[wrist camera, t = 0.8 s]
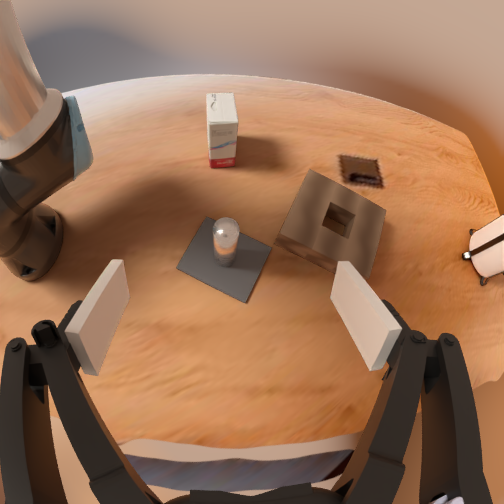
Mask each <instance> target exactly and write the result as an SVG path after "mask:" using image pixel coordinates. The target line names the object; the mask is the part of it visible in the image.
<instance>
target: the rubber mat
mask: <svg viewBox="0 0 504 504" xmlns="http://www.w3.org/2000/svg"><path fill="white" fill-rule="evenodd" d="M215 222H216V221H215V220H213V219H211V218H209V217H206V218H205V220H204V221H203V223H202V225H201V226H200V228H199V230H198V231H197V233H196V235H195V236H194V238H193V240H192V241H191V243H190V245H189V247H188V248H187V250H186V252H185V253H184V255H183V257H182V259H181V260H180V262H179V264H178V266H177V267H176V268H177V269H179V270H181V271H182V272H184V273H186V274H188V275H190V276H192V277H194V278H196V279H198V280H200V281H202V282H203V283H205V284H207V285H209V286H211V287H213V288H215V289H217V290H219V291H221V292H223V293H225V294H227V295H229V296H231V297H233V298H235V299H237V300H239V301H241V302H243V303H245V302H246V300H247V298H248V296H249V294H250V292H251V290H252V288H253V286H254V284H255V282H256V280H257V278H258V276H259V274H260V272H261V269H262V267H263V265H264V263H265V261H266V259H267V257H268V255H269V253H270V251H271V249H272V248H271V247H269V246H267V245H265V244H263V243H261V242H259V241H257V240H255V239H253V238H251V237H249V236H247V235H245V234H242V233H240V232H239V237H238V243H237V249H236V255H235V260H234V263H233V264H232V265H231V266H229V267H220V266H219V265H217V263H216V262H215V258H214V241H213V226H214V224H215Z"/></svg>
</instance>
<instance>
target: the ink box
mask: <svg viewBox="0 0 504 504" xmlns="http://www.w3.org/2000/svg"><path fill="white" fill-rule="evenodd" d="M206 96H207V137H208V149H209V162H210V168H219V167H229V166H234V165H235V156H236V143H237V132H238V116H237V110H236V104H235V98H234V93H209V94H207V95H206Z"/></svg>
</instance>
